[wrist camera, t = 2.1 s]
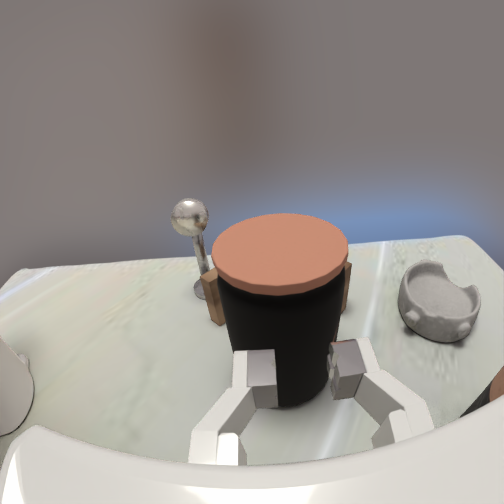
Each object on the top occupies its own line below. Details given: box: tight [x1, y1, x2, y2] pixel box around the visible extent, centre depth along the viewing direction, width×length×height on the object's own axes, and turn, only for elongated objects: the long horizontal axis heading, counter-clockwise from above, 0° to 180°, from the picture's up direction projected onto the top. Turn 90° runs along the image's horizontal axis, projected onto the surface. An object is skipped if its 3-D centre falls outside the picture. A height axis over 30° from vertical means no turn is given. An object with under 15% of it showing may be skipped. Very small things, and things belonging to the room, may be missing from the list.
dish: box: [398, 260, 481, 342], centre depth 33 cm, size 14×14×5 cm
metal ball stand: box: [171, 198, 210, 300], centre depth 41 cm, size 5×5×16 cm
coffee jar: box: [211, 213, 348, 407], centre depth 26 cm, size 11×11×18 cm
